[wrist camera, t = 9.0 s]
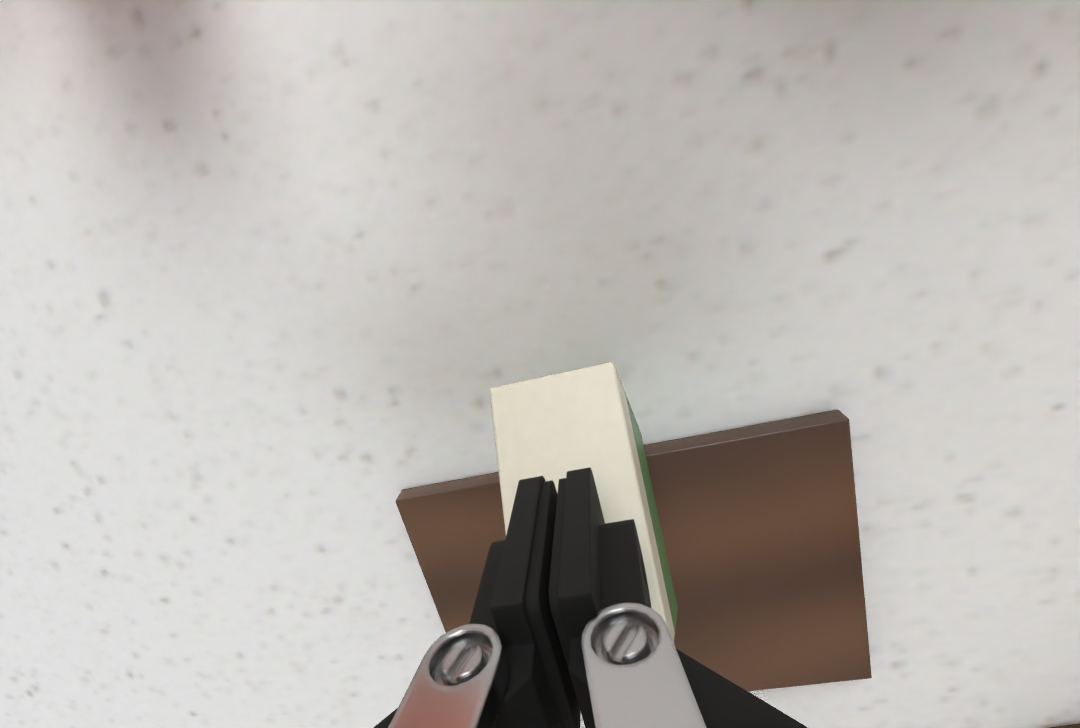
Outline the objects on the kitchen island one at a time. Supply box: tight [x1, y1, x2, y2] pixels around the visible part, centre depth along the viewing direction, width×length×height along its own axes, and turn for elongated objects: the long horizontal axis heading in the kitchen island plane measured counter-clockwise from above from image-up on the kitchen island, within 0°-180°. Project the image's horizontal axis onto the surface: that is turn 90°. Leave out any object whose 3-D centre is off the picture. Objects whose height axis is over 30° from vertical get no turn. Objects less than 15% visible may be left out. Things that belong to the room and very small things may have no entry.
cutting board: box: [396, 410, 871, 691], centre depth 26 cm, size 14×20×1 cm
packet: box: [490, 362, 678, 642], centre depth 18 cm, size 10×4×7 cm
